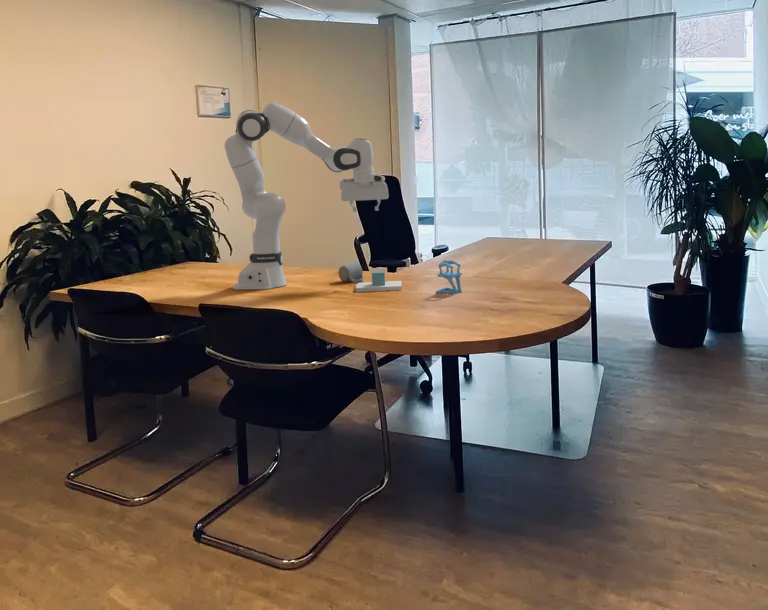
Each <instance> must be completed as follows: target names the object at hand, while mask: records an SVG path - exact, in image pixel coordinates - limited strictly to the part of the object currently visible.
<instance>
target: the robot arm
mask: <svg viewBox="0 0 768 610" xmlns="http://www.w3.org/2000/svg"><path fill="white" fill-rule="evenodd" d="M235 123H236V125H235V126H236V127H235V134H233V135H231V136H229V137H228V138H226V140H225V142H224V150H225V154H226V157H227V159H228V163H229V165H230V168H231V169H232V172H233V174H234V177H235V179H236V182H237V184H238V187H239V190H240V194H241V199H242V203H241V208H242V211H243V213H244V214H245V215H246V216H248V217H249V218H252V219H255V220H256V221H255V222H256V223H255V227H254V231H253V233H252V243H253V252H252V253H250V255H249V261H250V263H248V264H247V265H246V266H245V267H244V268H243V269H242V270H240V271H239V273H238V276H237V283H234V284H233V286H232V288H233V290H269V289H273V288H275V289H276V288H279V287H280V288H281V287H283V286H286V285H287V284H288V283H287V280H286V277H285V273H284V269H283V268H284V267H283V263H284V262H283V254H282V253H283V252H282V251H281V243H280V242H281V241H280V240H281V239H280V230H281V224H282V218H283V216H284V214H285V212H286V209H287V208H286V202H285V200H284V198H283V197H281V196H280V195H278V194H276V193H273V192H267V191H266V188H265V182H264V181H265V180H264V179H265V174H264V171H263V168H262V167H261V164H260V162H259V159H258V157H257V154H256V152H255V149H254V146H253V144H254V143H253V142H256V141H258V140H261V138H262V137H264V135H266V134H267V133H268V132H269V131H271V132H273V133H275V134H276V135H279V136H280V137H281V138H282V139H284V140H287V141H289V142H291V143H293V144H295V145H298V146H300V147H303V148H304V149H306V150H308V151H309V152H311V153H312V154H314V155H315V156H317V157H318V158H320V159H321V160H322V161H323V162H324V164H325V165H326V167H327V169H328V170H330V171H331V172H334V173H342V172H347V171H349V170H353V178H344V179H342V180H340V181H339V188H340V190H341V192H340V193H341V194H340V195H341V197H340V199H341V201H342V202H349V205H350V206H351V208H352V212H354V213H355V212H357V207H356V206H354V201H355V202H357V201H374V200H375V201H376V202H377V205H376V206H374V211H379V210H380V209H379V207H380V204H381V200H388V199H389V197H390V196H389V195H390V194H389V188H388V184H387V183H386V182H385V181H386V178H385V176H383V175H380V174H378V173H375V168H374V149H373V145H372V142H371V141H370V140H368V139H365V138H353V139H352V140H351V141H350V142H348V143H347V144H345V145H343V146H341V147H338V148H337V147H332V146H330V145H329V144H327V143H325V142H324V141H323V140H321V139H319V138H318V137H317V136H316V135H315V134H314V133H313V131H312V130H311V126H310V123H309V122H308V121H307V120H306V119H304V117H302V116H301V115H300V114H298V113H297V112H295V111H293V110H292V109H290V108H288V107H286V106H284V105H282V104H280V103H278V102H270V103H269V104H267V105H265V106H264V109H263V110H262V111H261V112H257V111H256V110H251V109H247V110H243V111H242V112H241V113H239V115H238V116H237V119H236V122H235Z"/></svg>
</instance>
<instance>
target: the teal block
mask: <svg viewBox="0 0 768 610" xmlns="http://www.w3.org/2000/svg"><path fill="white" fill-rule="evenodd" d="M385 271H386V270H372V271H371V282H372V286H379V285H385V282H386V273H385Z"/></svg>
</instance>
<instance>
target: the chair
mask: <svg viewBox="0 0 768 610" xmlns="http://www.w3.org/2000/svg"><path fill="white" fill-rule="evenodd" d="M453 265H455V266H456V267H457V270H456V272H453V269H454V266H453ZM444 267H446V272H443V269H442V268H444ZM449 268H450V270H449ZM460 268H461V263H459V262H457V261H454V260H446V259H445V260H442V261H440V262H439V264H438V269H439V273H438V274H437V277H438V278H444V279H446V280H447V281H448V282H449V284H450V286H451V287H443V288H441V289H437V290H435V294H444V295H445V294H449V295H451V294H452V295H459V294H460V293H462V286H461V276H462V275H463V274H462V272H460ZM453 278H454V279H455V282H456V285H455V283H454V281H453ZM456 286H457V287H456Z"/></svg>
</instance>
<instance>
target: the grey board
mask: <svg viewBox="0 0 768 610" xmlns="http://www.w3.org/2000/svg"><path fill="white" fill-rule="evenodd" d="M402 282H403V281H402V280H394V281H393V280H392V281H391V280H389V281H385V285H379V286H372V281H370V282H369V281H368V282H367V281H366V282H359V283H357V284H356V286H355V293H359V292H360V293H361V292H362V293H363V292H365V293H366V292H386V291H387V290H389V291H402V290H403V285H402V284H403V283H402Z"/></svg>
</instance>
